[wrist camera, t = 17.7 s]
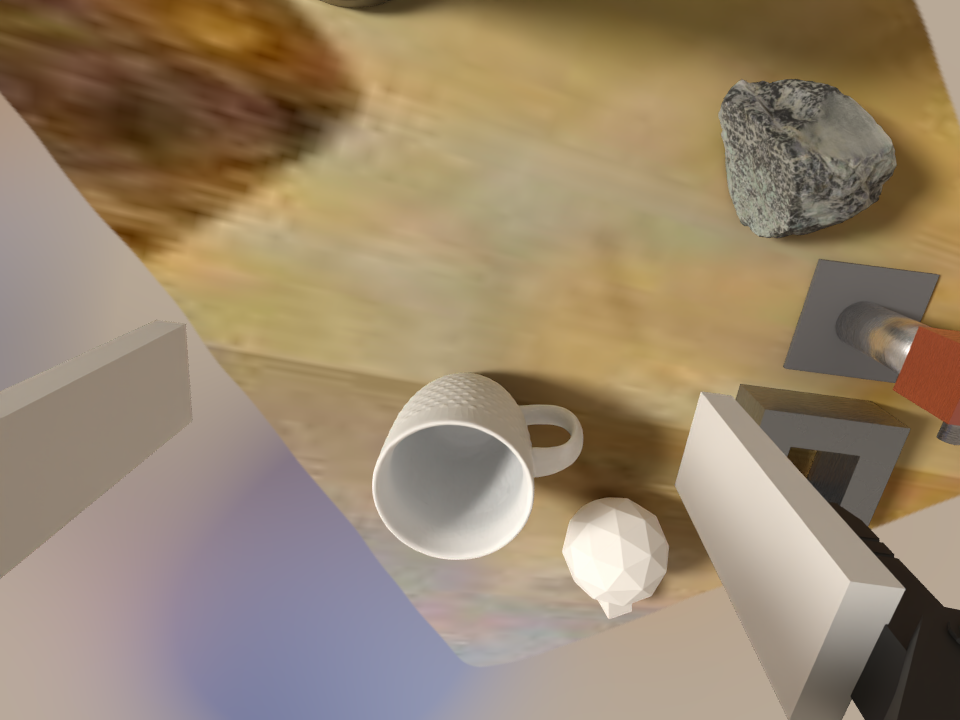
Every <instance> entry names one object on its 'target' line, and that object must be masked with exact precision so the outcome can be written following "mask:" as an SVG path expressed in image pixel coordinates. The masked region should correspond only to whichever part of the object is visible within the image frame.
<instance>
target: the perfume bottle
mask: <svg viewBox="0 0 960 720" xmlns="http://www.w3.org/2000/svg"><path fill="white" fill-rule="evenodd" d="M668 552H669V545H668V543H667V540H666V538H665V536H664V533H663V531H662V529H661V526H660V524H659V521H658V519H657V517H656V515H654V514H652V513H651V512H649V511H648V510H646V509H644V508H643V507H641V506H640V505H638V504H636V503H635V502H633V501H631V500H630V499H628V498H612V497H607V498H602V499H598V500H594V501H592V502H590V503H588V504H586V505H584V506H582V507H581V508H580V509H579V510H578V511H577V513H576V514H575V515H574V516H573V517H572V518H571V520H570V521H569V525H568V529H567V534H566V538H565V542H564V546H563V550H562V553H563V555H564V558H565V560H566V562H567V565H568V567H569V569H570V572H571V574H572V577H573V579H574V581H575V583H576V584H578V585H579V586H580V587H581V588H582V589H583V590H584V591H585V592H586V593H587V594H588V595H589V596H591V597H592V598H593V599H596V600H598V601H599V603H600V605H601V606H602V608H603V610H604V612H605V613H606V615H607V617H608V619H611V618H614V617H617V616H620V615H623V614H626V613H629V612H632V603H634V602H637V601H639V600H642V599H645V598H648V597H650V596H652V595H653V593H654V591H655V590H656V588H657V586H658V585H659V583H660V582H661V580H662V578H663V577H664V575H665V573H666V572H667V562H668Z"/></svg>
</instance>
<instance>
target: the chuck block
mask: <svg viewBox="0 0 960 720" xmlns="http://www.w3.org/2000/svg"><path fill="white" fill-rule="evenodd" d="M736 401H737V402H738V403H739V404H740V406H741V407H742V408H743V409H744V410H745V411H746V412H747V413H748V414H749V416H750V417H751V418H752V419H753V420H754V421H755V422H756V423H757V424H758V426H759V427H760V428H761V429H762V430H763V431H764V432H765V433H766V434H767V436H768V437H769V438H770V439H771V440H772V441H773V442H774V443H775V444H776V446H777V447H778V448H779V449H780V450H781V451H782V452H783V453H784V454H785V456H786V457H787V456H788V453H789V450H790V447H797V448H804V449H812V450H818V451H817V453H816V456H815V459H814V461H813V464H812V467H811V469H810V472H809V475H808V477H807V480H808V481H809V482H810V483H811V484H812V486H813V487H814V488H815V489H816V490H817V491H818V492H819V493H820V494H821V496H822V497H823V498H824V499H825V500H826V501H827V502H833V503H837V504H839V505H840V506H841V507H843V508H844V509H846V510H847V511H849V512H850V513H852V514H853V515H855V516H856V517H858V518H859V519H861V520H862V521H863V522H864V523H865V524H866V525H867V526H868V525H869V523H870V521H871V519H872V516H873V514H874V512H875V509H876V507H877V505H878V503H879V500H880V498H881V496H882V493H883V491H884V489H885V486H886V484H887V482H888V480H889V477H890V475H891V473H892V470H893V468H894V466H895V464H896V461H897V459H898V457H899V454H900V452H901V450H902V448H903V445H904V443H905V441H906V438H907V436H908V434H909V431H910V428H909V427H908V426H906V425H905V424H903V423H902V422H900V421H899V420H897V419H896V418H895V417H893V416H892V415H890V414H889V413H887V412H886V411H884V410H883V409H882V408H880V407H879V406H877V405H876V404H874V403H873V402H871V401H865V400H857V399H850V398H842V397H834V396H827V395H819V394H812V393H804V392H796V391H789V390H781V389H774V388H766V387H758V386H751V385H743V384H740V387H739V390H738V394H737V397H736Z"/></svg>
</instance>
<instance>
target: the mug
mask: <svg viewBox="0 0 960 720" xmlns="http://www.w3.org/2000/svg"><path fill="white" fill-rule="evenodd" d="M533 424H549V425H557V426H560V427H563V428H564V429H566V430H567V431H568V432H569V433H570V435H571V438H570V439H569V440H568V442H566V443H565V444H563V445H560V446H556V447H547V448H540V447H533V448H532V443H531V441H530V434H529V432H528V426H527V425H533ZM582 447H583V430H582V427H581V424H580V422H579V420H578V418H577V417H576V416H575V415H574V414H573V413H572V412H571V411H569V410H567V409H566V408H563V407H560V406H555V405H522V406H518V405H517V403H516V401H515V400H514V399H513V398H512V396H511V395H510V393H509V392H507V391H506V390H505V389H504V387H502V386H501V385H500V384H499V383H497V382H496V381H493V380H492V379H490V378H487V377H485V376H482V375H480V374H473V373H454V374H450V375H445V376H443V377H441V378H438V379H436V380H435V381H432V382H430V383H429V384H428V385H426V386H424V387H423V388H422V389H421V390H420V391H418V392H417V393H416V394H415V395H414V396H413V397H412V398H411V399H410V400H409V402H408V403H407V404H405V405H404V408H403V410H402V411H401V412H400V413H399V414H398V417H397V419H396V420H395V421H394V424H393V427H392V428H391V429H390V432H389V435H388V437H387V438H386V440H385V443H384V446H383V448H382V449H381V453H380V456H379V458H378V460H377V463H376V466H375V469H374V473H373V481H372V491H373V498H374V502H375V505H376V508H377V511H378V513H379V515H380V517H381V519H382V520H383V522H384V523H385V525H386V526H387V528H388V529H389V530H390V531H391V532H392V533H393V534H394V535H395V536H396V537H397V538H398V539H399V540H400V541H402V542H403V543H404V544H406V545H407V546H409V547H411V548H412V549H414V550H416V551H418V552H421V553H424V554H426V555H429V556H432V557H437V558H441V559H450V560H466V559H473V558H478V557H482V556H485V555H488V554H491V553H493V552H495V551H497V550H499V549H501V548H502V547H504V546H505V545H507V544H508V543H509V542H511V541H512V540H513V539H514V538H515V537H516V536H517V535H518V534H519V532H520V531H521V530H522V528H523V527H524V526H525V524H526V522H527V520H528V518H529V516H530V513H531V511H532V507H533V501H534V477H542V476H547V475H551V474H554V473H557V472H559V471H561V470H563V469H565V468H567V467H568V466H570V465H571V464H572V463H574V462H575V460H576V459H577V458H578V456H579V455H580V453H581V450H582Z"/></svg>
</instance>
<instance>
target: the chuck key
mask: <svg viewBox="0 0 960 720" xmlns="http://www.w3.org/2000/svg"><path fill="white" fill-rule="evenodd" d="M835 330H836V334H837V336H838V338H839V339H840V340H841V341H843V342H844V343H846V344H848V345H849V346H851V347H853V348H855V349H856V350H858V351H860V352H862V353H863V354H865V355H867V356H869V357H870V358H872V359H874V360H876V361H877V362H879V363H881V364H883V365H884V366H886V367H888V368H890V369H891V370H893V371H895V372H897V373H898V374H899V376H898V379H897V381H896V383H895V386H894V388H893V390H894V391H896V392H897V393H899V394H900V395H902V396H904V397H905V398H907V399H908V400H910V401H912V402H913V403H915V404H916V405H918V406H920V407H921V408H923V409H924V410H926V411H928V412H929V413H931V414H933V415H934V416H936V417H937V418H939V419H941V420H942V421H943V423H942V426H941V428H940V430H939V432H938V434H937V438H938V439H940V440H941V441H944V442H946V443H949V444H953V445H960V331H953V330H946V329H938V328H932V327H930V326H927V325H925V324H922V323H920V322H918V321H915V320H913V319H910V318H908V317H906V316H903V315H901V314H898V313H896V312H893V311H891V310H889V309H886V308H884V307H881V306H879V305H877V304H874V303H871V302H867V301H861V302H857V303H854V304H851V305H850V306H848V307H846V308H845V309H844V310H843V311H842V312H841V313H840V315H839V316H838V318H837V321H836V325H835Z"/></svg>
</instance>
